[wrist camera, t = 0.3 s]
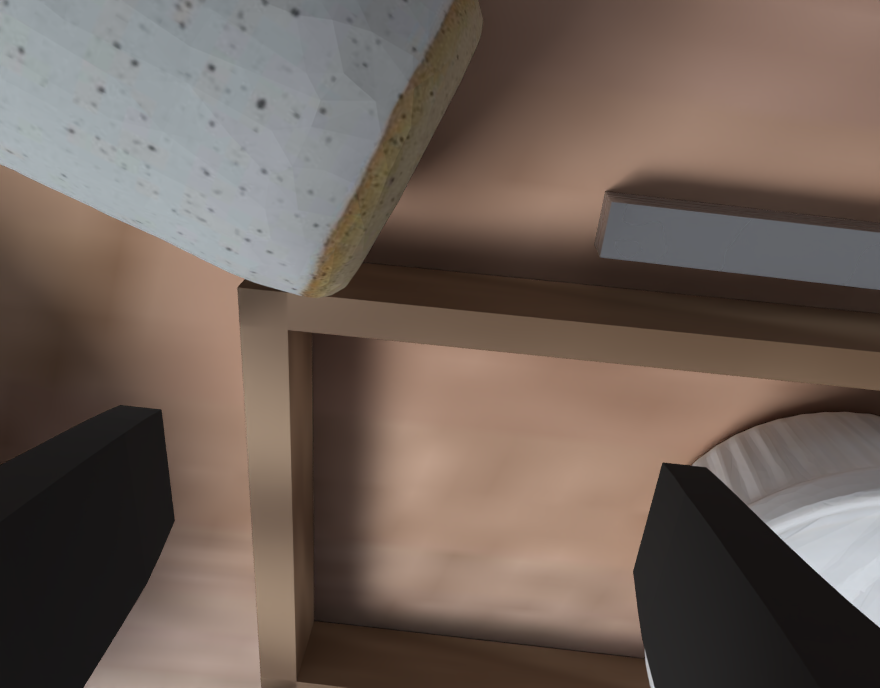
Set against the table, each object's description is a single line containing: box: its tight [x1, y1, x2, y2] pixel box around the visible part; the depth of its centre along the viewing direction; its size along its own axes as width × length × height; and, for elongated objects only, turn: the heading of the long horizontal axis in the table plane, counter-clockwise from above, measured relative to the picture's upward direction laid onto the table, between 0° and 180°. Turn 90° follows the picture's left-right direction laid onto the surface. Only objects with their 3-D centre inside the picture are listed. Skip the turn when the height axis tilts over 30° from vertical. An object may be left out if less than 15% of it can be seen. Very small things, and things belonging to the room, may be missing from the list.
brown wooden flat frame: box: [238, 263, 880, 688], centre depth 21 cm, size 15×23×2 cm, turn 85°
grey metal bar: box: [594, 191, 880, 290], centre depth 17 cm, size 1×12×1 cm, turn 84°
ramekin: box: [645, 412, 880, 688], centre depth 20 cm, size 11×11×5 cm
